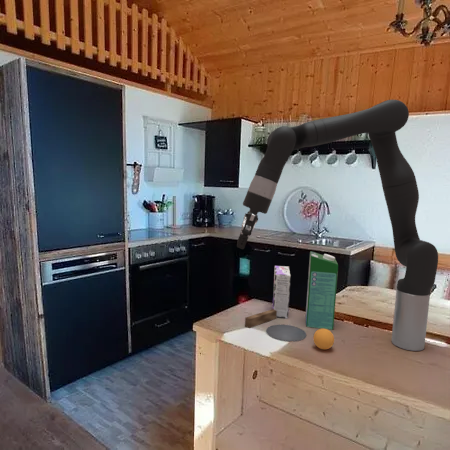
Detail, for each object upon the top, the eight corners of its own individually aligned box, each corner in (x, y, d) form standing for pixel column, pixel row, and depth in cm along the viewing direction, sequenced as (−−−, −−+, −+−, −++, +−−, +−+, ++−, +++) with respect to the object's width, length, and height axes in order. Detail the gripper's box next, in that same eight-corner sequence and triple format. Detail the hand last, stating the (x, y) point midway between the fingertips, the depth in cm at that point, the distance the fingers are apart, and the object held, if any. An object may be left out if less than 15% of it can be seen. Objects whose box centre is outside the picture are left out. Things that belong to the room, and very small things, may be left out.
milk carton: (333, 330, 122) (338, 257, 119) (306, 326, 123) (311, 255, 120) (330, 320, 130) (336, 252, 128) (305, 317, 132) (310, 250, 129)
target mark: (282, 322, 127) (282, 321, 127) (314, 334, 117) (314, 333, 117) (257, 331, 118) (257, 330, 118) (289, 345, 109) (289, 344, 109)
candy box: (272, 305, 145) (274, 265, 143) (287, 306, 144) (289, 266, 142) (272, 317, 131) (274, 273, 129) (288, 318, 130) (291, 274, 128)
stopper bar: (271, 317, 131) (272, 309, 131) (276, 318, 130) (276, 310, 129) (245, 326, 122) (245, 317, 122) (249, 328, 120) (249, 319, 120)
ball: (320, 342, 112) (321, 323, 111) (337, 349, 107) (338, 330, 107) (308, 347, 108) (310, 328, 107) (326, 355, 103) (327, 335, 103)
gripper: (274, 199, 96) (252, 254, 98) (270, 199, 111) (251, 247, 112) (248, 189, 97) (227, 244, 98) (247, 190, 111) (228, 239, 112)
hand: (239, 246), depth 105 cm, fingers open, 8 cm apart
